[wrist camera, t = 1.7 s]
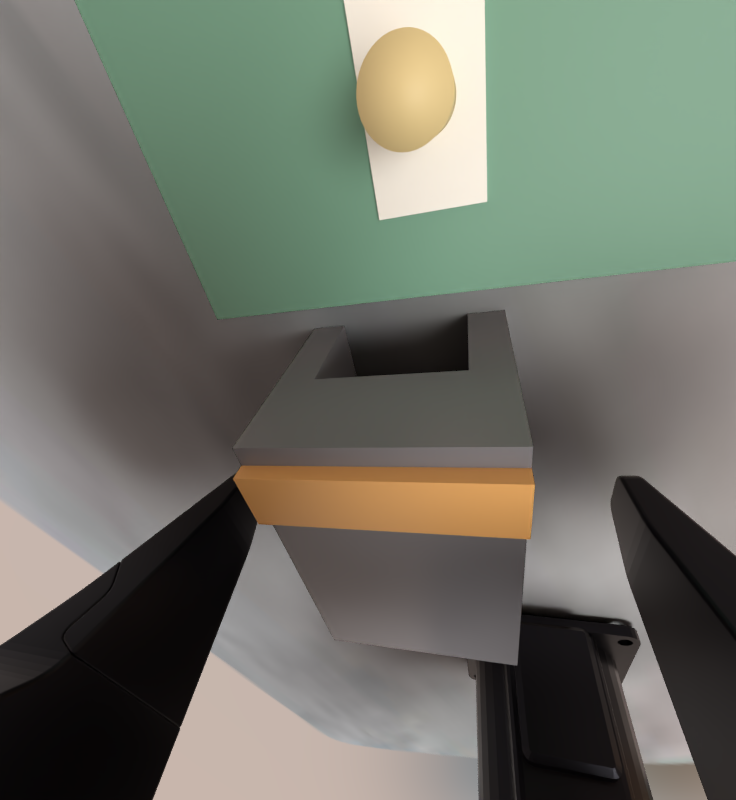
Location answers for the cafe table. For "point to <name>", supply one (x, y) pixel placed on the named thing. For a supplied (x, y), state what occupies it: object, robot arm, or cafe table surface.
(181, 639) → the robot arm
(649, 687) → the cafe table surface
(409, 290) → the board
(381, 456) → the plug housing
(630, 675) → the cafe table surface
